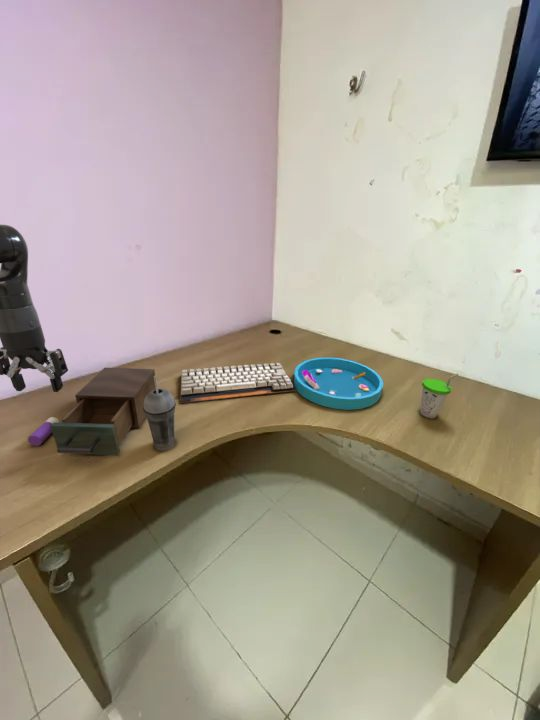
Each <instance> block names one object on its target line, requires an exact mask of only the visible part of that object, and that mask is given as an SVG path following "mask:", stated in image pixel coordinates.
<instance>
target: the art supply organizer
mask: <svg viewBox="0 0 540 720" xmlns="http://www.w3.org/2000/svg"><path fill="white" fill-rule="evenodd" d="M293 387H294V389H295V391H296V392H298V393H299V394H300V395H301V396H302V397H303V398H305V399H306V400H308V401H310V402H312V403H314V404H316V405H319V406H322V407H326V408H330V409H334V410H346V411H352V410H353V411H354V410H362V409H367V408H369V407H371V406H373V405H375V404H377V403H378V401H379V400H380V398H381V396H382V392H383V388H384V380H383V379H382V377H381V376H380V375H379V373H377V372H376V371H375V370H374V369H372V368H370V367H369V366H367V365H364V364H362V363H360V362H357V361H353V360H350V359H345V358H340V357H339V358H338V357H316V358H310V359H307V360H304V361H302V362H301V363H299V364H298V365H297V366H296V367H295V369H294V376H293Z"/></svg>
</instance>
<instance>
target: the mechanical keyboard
mask: <svg viewBox="0 0 540 720" xmlns="http://www.w3.org/2000/svg"><path fill="white" fill-rule="evenodd" d="M288 392H296V388H295V387H294V384H293V380H292V378H290V377H289V376H288V374H287V372H286V371H285V370H284V368H283V365H282V364H281V363H280V362H275V363H274V362H271V363H269V364H268V363H263V364H262V363H256V364H250V365H249V364H244V365H242V364H241V365H237V366H236V365H230V367H229V366H223V367H222V366H217V367H214V366H213V367H210V368H208V367H204V368H203V369H202V368H196V369H195V368H189V369H181V374H180V376H179V404H180V405H181V404H187V403H199V402H207V401H216V400H225V399H233V398H244V397H251V396H259V395H267V394H277V393H278V394H280V393H288Z"/></svg>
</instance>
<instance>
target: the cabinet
mask: <svg viewBox="0 0 540 720" xmlns="http://www.w3.org/2000/svg"><path fill="white" fill-rule="evenodd" d="M154 376H156V371H155V369H154V368H129V367H128V368H127V367H104V368H102V369H101V370H100V371H99V372H98V373H97V374H96V375H95V376H93V378H92V379H91V380H90V381H89V382H87V383H86V384H85V386H84V387H82V388H81V389H80V390H79V391H78V392H77V393H76V394H75V395H74V397H75V400H76V405H77V404H78V403H79V402H80V401H81V400H82V399H83V398H88V399H119V400H131V403H132V409H133V414H134V420H135V422H134V424H133V425H132V427H131V428H130V429H140V428H141V426H142V425H143V423H144V421H145V419H147V417H146V415H145V412H144V410H143V406H144V400H145V398H146V396H147V395H148V393H150V392H151V391H153V390H155V382H154Z"/></svg>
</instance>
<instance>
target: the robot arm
mask: <svg viewBox="0 0 540 720" xmlns="http://www.w3.org/2000/svg"><path fill="white" fill-rule="evenodd" d="M28 276H29V248H28V244H27V241H26V239H25V237H24V235H22V233H21V232H20V231H19V230H18V229H16V228H15V227H14V226H11V225H9V224H0V342H1V347H0V376H3V375H4V376H6V377H8V378H9V379H10V382H11V384H12V387H13V388H14V390H15V391H16V392H22V391H23V390H24V389H26V388H27V386H26V382H25V380H24V377H23V374H22V373H21V371H22V370H29V369H30V370H38V371H39V372H40V373H42V374H45V375H46V376H47V377H49V381H50V385H51V388H52V392H53V393H59V391H61V390H62V388H63V387H64V383H63V380H62V376H64V375H65V374H66V373H67V372H68V371H69V367H68V365H67V363H66V359H65V357H64V354H63V350H62V349H61V348H57V349H55V350H48V349H47V347H46V339H45V334H44V332H43V331H44V330H43V328H42V324H41V321H40V318H39V313H38V312H37V309H36V307H35V305H34V303H33V298H32V294H31V291H30V288H29V286H28V279H29V278H28ZM10 361H11V362H10ZM45 364H46V365H45ZM44 365H45V366H44Z"/></svg>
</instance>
